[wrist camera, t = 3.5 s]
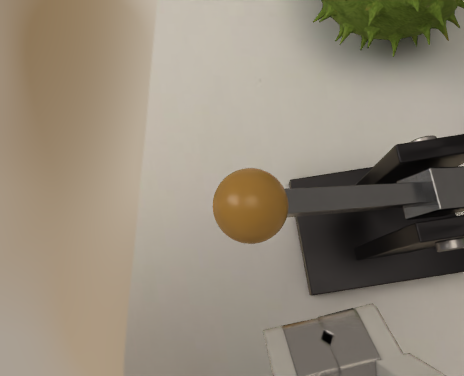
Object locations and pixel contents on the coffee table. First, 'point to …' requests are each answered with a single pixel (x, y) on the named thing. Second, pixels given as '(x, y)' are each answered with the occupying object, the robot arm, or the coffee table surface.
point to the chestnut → (390, 18)
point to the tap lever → (328, 200)
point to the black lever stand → (382, 226)
